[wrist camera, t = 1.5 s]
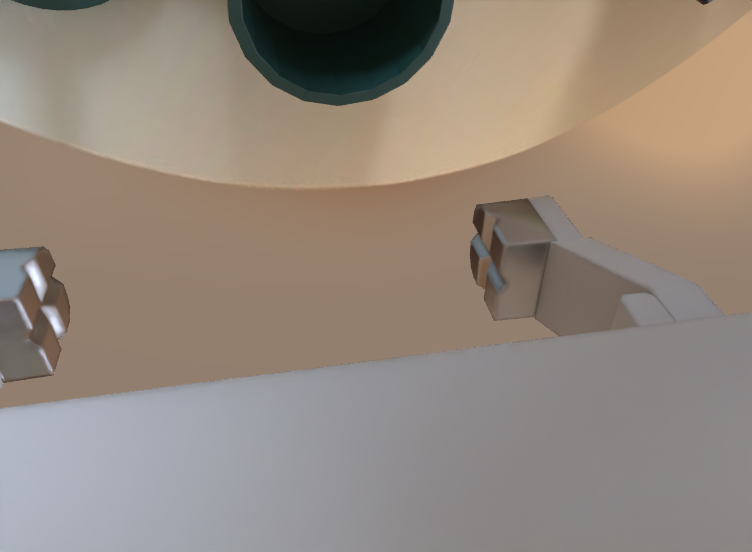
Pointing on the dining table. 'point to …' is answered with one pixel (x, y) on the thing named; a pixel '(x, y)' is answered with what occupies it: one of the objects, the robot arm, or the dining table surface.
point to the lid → (61, 4)
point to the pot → (338, 44)
